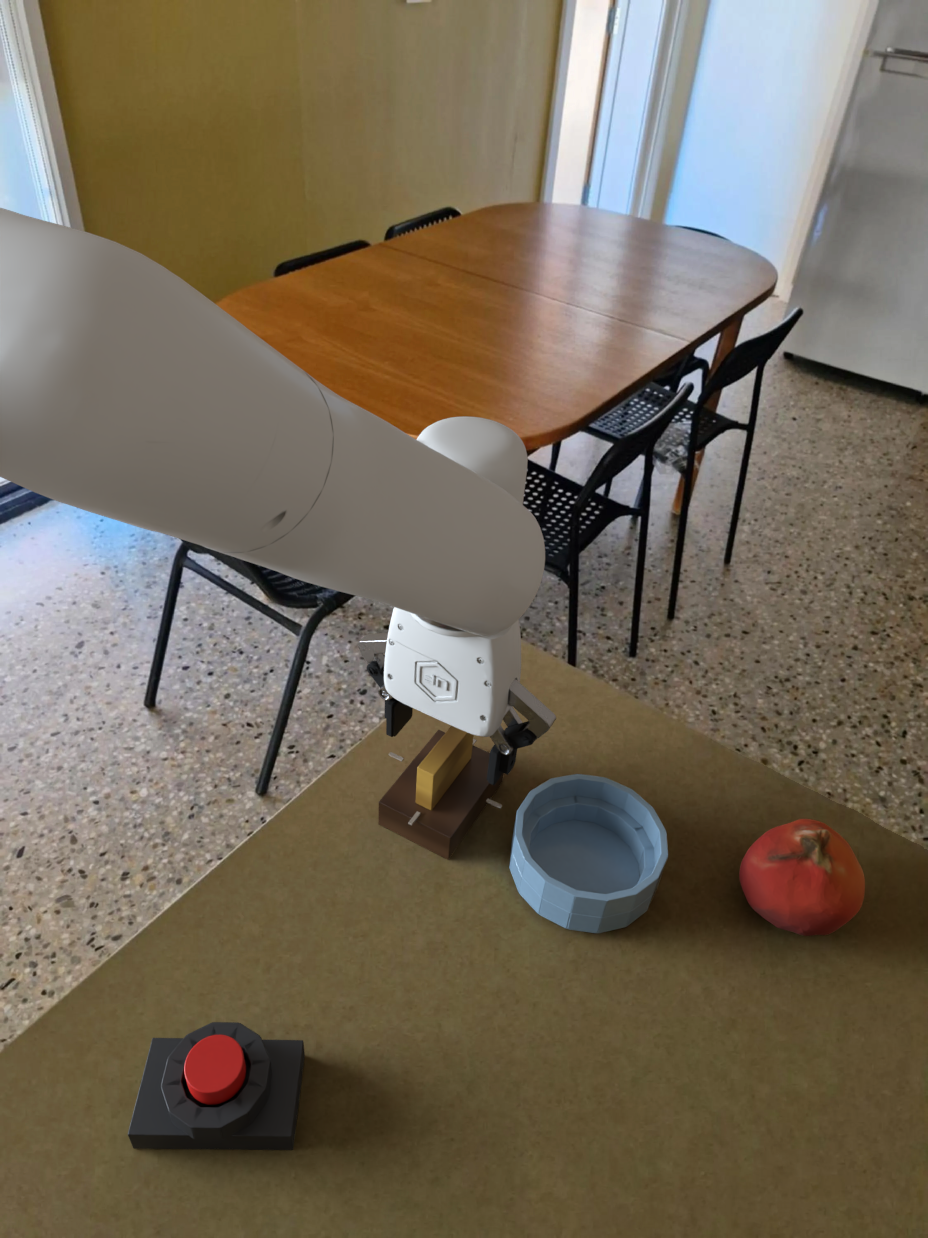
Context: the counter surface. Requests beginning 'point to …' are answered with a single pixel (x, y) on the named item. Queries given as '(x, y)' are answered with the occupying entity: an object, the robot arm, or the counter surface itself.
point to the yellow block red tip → (442, 766)
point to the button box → (237, 1124)
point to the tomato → (803, 878)
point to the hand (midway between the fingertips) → (448, 749)
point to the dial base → (439, 803)
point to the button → (215, 1069)
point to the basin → (587, 853)
